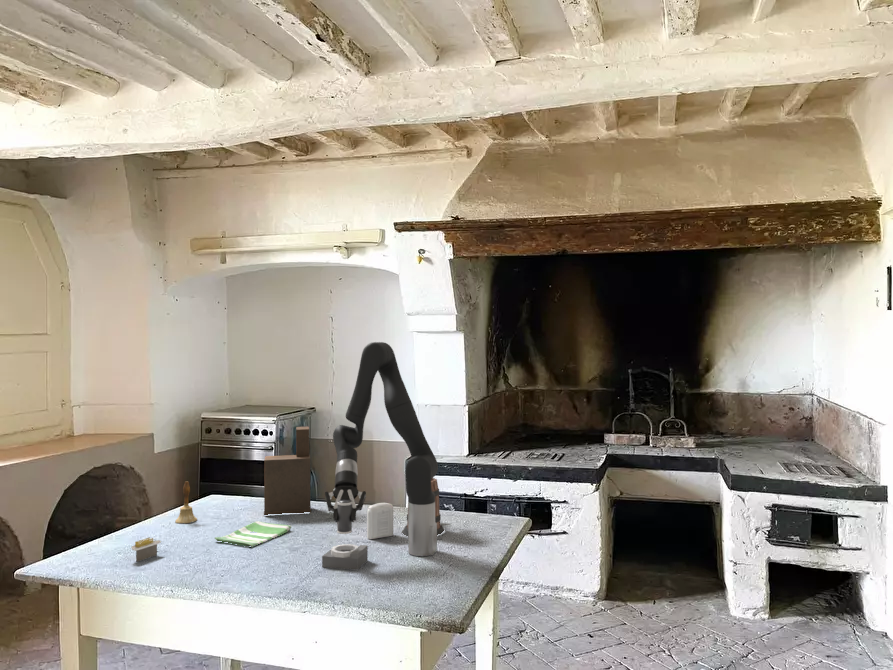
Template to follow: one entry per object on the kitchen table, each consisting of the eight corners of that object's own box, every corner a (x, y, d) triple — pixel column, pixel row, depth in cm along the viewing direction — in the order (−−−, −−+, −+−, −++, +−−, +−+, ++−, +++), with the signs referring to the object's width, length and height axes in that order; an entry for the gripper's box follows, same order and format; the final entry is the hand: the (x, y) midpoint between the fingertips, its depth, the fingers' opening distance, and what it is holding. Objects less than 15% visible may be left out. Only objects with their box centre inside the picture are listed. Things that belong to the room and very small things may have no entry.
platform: (108, 564, 212) (108, 544, 212) (155, 549, 228) (155, 530, 229) (133, 570, 207) (133, 549, 207) (179, 554, 223) (179, 534, 223)
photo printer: (389, 533, 246) (389, 500, 246) (395, 535, 242) (395, 502, 242) (365, 537, 240) (364, 504, 240) (370, 540, 236) (370, 506, 236)
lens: (354, 530, 213) (354, 499, 213) (348, 534, 208) (348, 503, 208) (340, 529, 214) (340, 498, 214) (334, 533, 210) (334, 502, 210)
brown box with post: (310, 505, 288) (310, 426, 289) (310, 513, 274) (310, 430, 275) (265, 508, 284) (265, 427, 284) (263, 516, 270) (263, 432, 270)
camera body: (367, 560, 214) (367, 545, 214) (357, 570, 205) (357, 554, 205) (333, 558, 217) (333, 543, 217) (322, 567, 208) (322, 551, 208)
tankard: (439, 540, 237) (439, 484, 237) (395, 536, 241) (395, 482, 241) (454, 522, 260) (454, 472, 260) (413, 520, 264) (413, 470, 264)
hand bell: (176, 519, 266) (176, 480, 267) (197, 517, 269) (198, 478, 269) (174, 524, 259) (174, 484, 259) (196, 522, 261) (196, 482, 261)
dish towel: (212, 543, 235) (212, 535, 235) (257, 526, 256) (257, 519, 257) (251, 549, 228) (251, 541, 228) (293, 532, 249) (293, 525, 249)
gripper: (324, 469, 218) (321, 515, 206) (367, 469, 220) (366, 514, 208) (325, 482, 223) (322, 527, 211) (367, 481, 225) (366, 526, 213)
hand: (344, 520), depth 209 cm, fingers closed on lens, 4 cm apart
